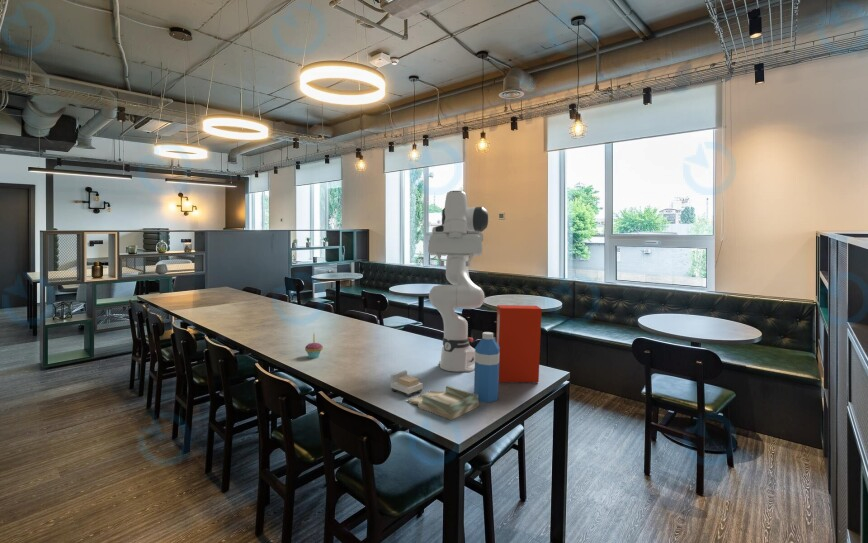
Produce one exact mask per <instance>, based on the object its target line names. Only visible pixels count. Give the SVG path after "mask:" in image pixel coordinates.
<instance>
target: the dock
mask: <svg viewBox="0 0 868 543" xmlns="http://www.w3.org/2000/svg"><path fill="white" fill-rule="evenodd" d="M429 391H430V392H429ZM429 391H427V392H428V393H426V392H424V393H425V394H423V393H422V394H423V395H421V394H419V395H420V396H418V395H417V396H418V397H416V396H414V397H415V398H413V397H412V398H413V399H411V398H409V399H410V400H408V399H407V400H408V402H407V403H409V402H411V403H413V404H412V405H417V406H418V407H420V408H419V409H421V408H422V409H421V410H423V409H425V410H424V411H426V410H427V411H426V412H428V411H430V412H429V413H431V412H432V413H431V414H433V413H435V414H434V415H436V414H437V415H436V416H439V415H440V416H439V417H441V416H442V417H441V418H444V417H445V418H444V419H446V418H447V420H450V421H452V420H455V419H457V418H458V417H460V416H462V415H464V414H466V413H469V412H470V411H472V410H474V409H477V408H478V407H479V406H480V401H478V395H477V394H474V393H472V392H468V391H465V390H462V389H460V388H455V387H452V386H449V385H446V386H445V391H444V390H442V391H440V390H429ZM411 403H410V404H411Z"/></svg>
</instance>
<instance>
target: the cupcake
mask: <svg viewBox="0 0 868 543" xmlns="http://www.w3.org/2000/svg"><path fill="white" fill-rule="evenodd" d="M315 335H316V334H315V333H313V335H312V336H313V337H312V338H313V339H312V342H309V343H307V345H306V346H305V347H304V348H305V349H304V350H305V351H306V353H307V355H308V358H309V359H316V358H319V357H320V354H321V352H322V351H323V350H324V348H323V345H322V343H318V342H316V341H315V340H316V336H315Z"/></svg>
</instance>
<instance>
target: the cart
mask: <svg viewBox="0 0 868 543" xmlns="http://www.w3.org/2000/svg"><path fill="white" fill-rule="evenodd" d="M390 388H391V391H392V392H396V391H399V392H402V393H405V396H406V397H408V396H409V397H410V396H411V395H412V393H414V392H417V393H421V392H422V390H423V389H424V383H422V382H420V381H419V378H417V377H413V376H412V375H408V370H401V371H399V372H395V373H393V374H390Z"/></svg>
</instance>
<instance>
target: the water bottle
mask: <svg viewBox="0 0 868 543" xmlns="http://www.w3.org/2000/svg"><path fill="white" fill-rule="evenodd" d="M481 337H482V338H481V340H480V341H479V342H478V343H477V344H476V346H475V347H474V349H475V369H474V383H473V384H474V385H473V387H474V388H473V395H474V394H477V395H478V401H479V402H483V403H491V402H497V401H498V399H499V388H500V387H499V357H500V347H499V346H498V344H497V343H496V339H494V332H491V331H484V332H482V336H481Z"/></svg>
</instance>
